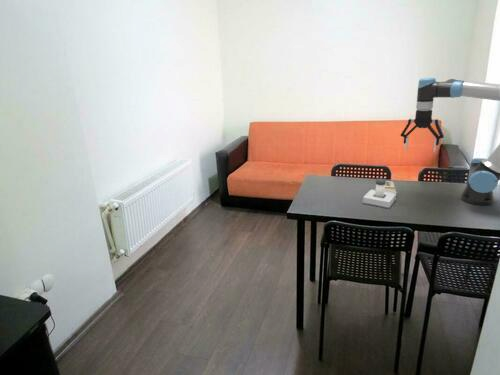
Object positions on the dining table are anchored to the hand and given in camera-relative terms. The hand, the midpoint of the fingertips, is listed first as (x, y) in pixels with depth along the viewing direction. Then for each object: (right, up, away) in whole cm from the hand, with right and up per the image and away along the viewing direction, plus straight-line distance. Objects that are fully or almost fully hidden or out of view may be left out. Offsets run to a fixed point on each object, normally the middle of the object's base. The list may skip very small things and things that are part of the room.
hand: (420, 150), depth 185 cm
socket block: (-19, -27, +8) cm, 34 cm away
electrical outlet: (-9, -23, +22) cm, 33 cm away
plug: (-19, -27, +8) cm, 34 cm away
